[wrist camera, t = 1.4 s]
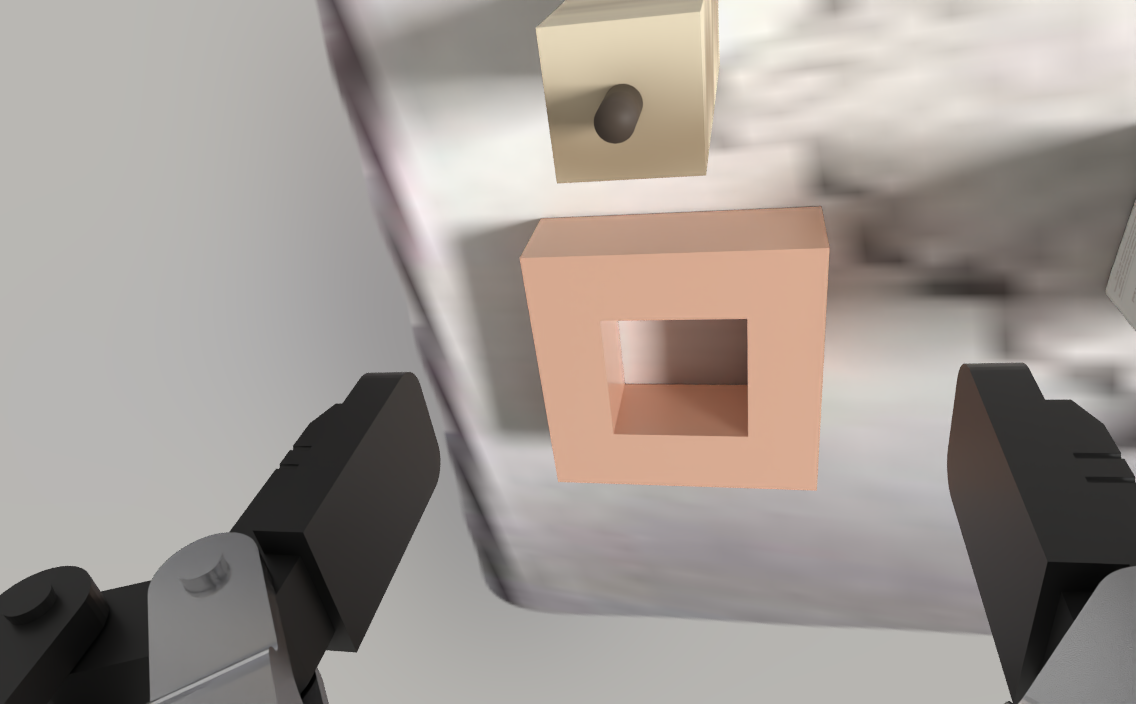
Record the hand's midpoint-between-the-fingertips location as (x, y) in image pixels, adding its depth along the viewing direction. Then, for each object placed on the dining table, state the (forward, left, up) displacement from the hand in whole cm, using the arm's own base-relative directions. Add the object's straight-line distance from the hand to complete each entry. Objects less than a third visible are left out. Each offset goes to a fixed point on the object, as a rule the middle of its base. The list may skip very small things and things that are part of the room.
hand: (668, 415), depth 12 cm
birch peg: (-2, -2, -23) cm, 23 cm away
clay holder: (+12, -2, -23) cm, 26 cm away
